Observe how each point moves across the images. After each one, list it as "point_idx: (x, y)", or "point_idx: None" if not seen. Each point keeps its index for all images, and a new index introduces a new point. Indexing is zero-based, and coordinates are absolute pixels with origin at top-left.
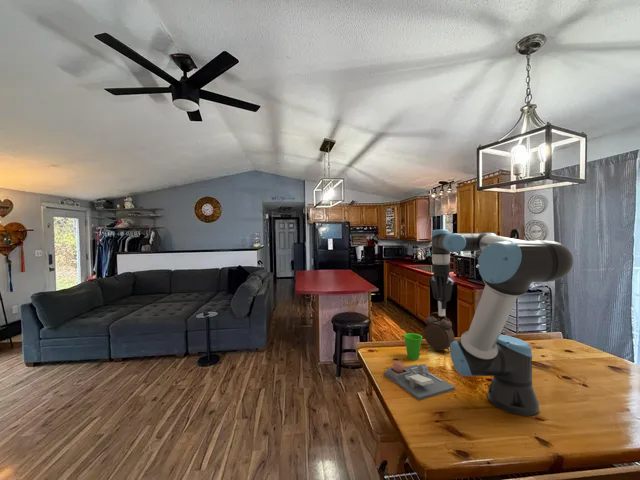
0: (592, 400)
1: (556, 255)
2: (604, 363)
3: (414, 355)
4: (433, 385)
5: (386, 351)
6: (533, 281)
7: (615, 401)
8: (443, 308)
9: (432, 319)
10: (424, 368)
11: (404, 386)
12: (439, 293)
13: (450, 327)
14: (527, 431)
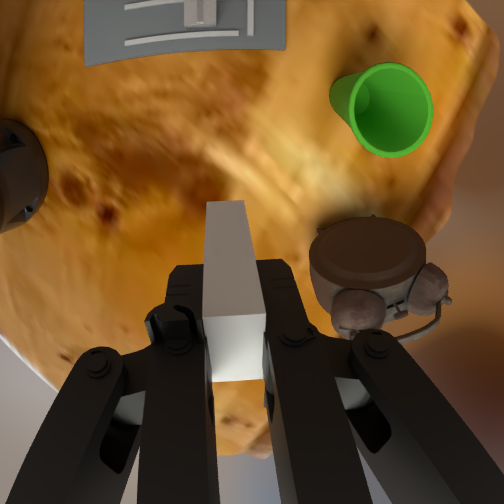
0: (17, 319)
1: None
2: None
3: (337, 84)
4: (120, 4)
5: (436, 62)
6: None
7: (18, 342)
8: (179, 270)
9: (420, 294)
10: (184, 6)
11: None
12: (285, 466)
13: (331, 313)
14: None
